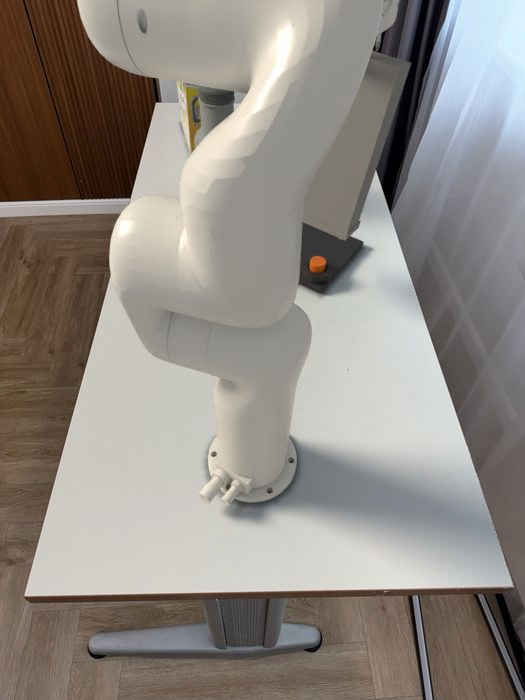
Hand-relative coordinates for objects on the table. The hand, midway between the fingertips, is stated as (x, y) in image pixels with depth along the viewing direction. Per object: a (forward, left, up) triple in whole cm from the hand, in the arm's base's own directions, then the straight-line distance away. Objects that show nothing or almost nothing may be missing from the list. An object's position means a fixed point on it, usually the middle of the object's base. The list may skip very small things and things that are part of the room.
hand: (352, 85), depth 70 cm
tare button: (-2, 0, -33) cm, 33 cm away
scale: (+4, +5, -35) cm, 36 cm away
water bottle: (+9, +31, -36) cm, 48 cm away
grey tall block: (-5, +1, -20) cm, 21 cm away
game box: (+26, +52, -36) cm, 68 cm away
